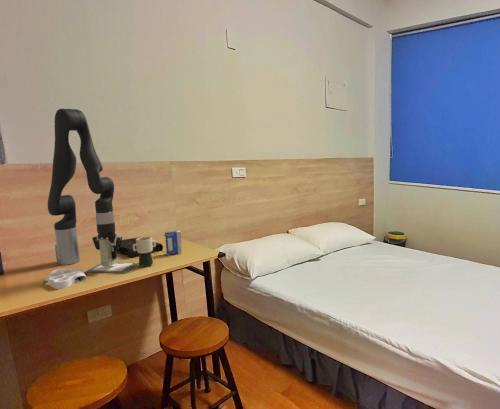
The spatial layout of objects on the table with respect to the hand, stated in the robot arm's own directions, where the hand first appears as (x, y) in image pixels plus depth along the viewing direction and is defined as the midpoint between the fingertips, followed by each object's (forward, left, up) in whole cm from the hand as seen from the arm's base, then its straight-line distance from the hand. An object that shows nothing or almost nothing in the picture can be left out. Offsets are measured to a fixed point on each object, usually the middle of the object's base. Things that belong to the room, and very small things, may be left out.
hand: (109, 258), depth 148 cm
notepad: (+1, +1, -5) cm, 5 cm away
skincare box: (0, 0, -3) cm, 3 cm away
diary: (-3, +30, -6) cm, 30 cm away
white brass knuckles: (-11, -15, -6) cm, 20 cm away
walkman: (+21, +25, -5) cm, 33 cm away
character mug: (+15, +6, -5) cm, 17 cm away
